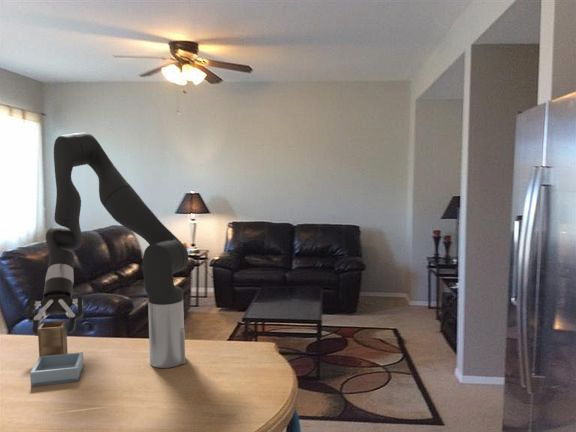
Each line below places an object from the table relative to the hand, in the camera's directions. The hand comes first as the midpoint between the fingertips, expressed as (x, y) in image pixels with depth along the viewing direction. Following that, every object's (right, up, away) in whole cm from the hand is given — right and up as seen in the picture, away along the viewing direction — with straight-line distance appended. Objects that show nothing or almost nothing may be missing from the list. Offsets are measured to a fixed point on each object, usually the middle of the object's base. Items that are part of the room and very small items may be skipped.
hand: (53, 333), depth 136 cm
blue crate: (+6, -8, -10) cm, 14 cm away
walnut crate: (0, -7, 0) cm, 7 cm away
